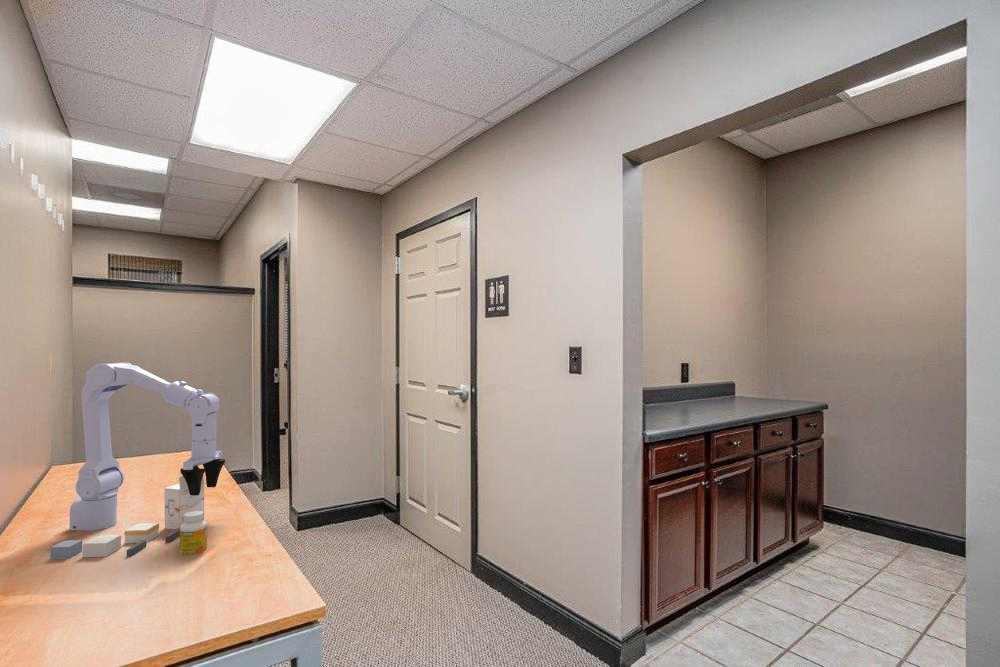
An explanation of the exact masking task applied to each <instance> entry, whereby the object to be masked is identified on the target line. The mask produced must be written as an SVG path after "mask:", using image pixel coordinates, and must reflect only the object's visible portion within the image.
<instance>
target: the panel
mask: <svg viewBox="0 0 1000 667" xmlns="http://www.w3.org/2000/svg"><path fill="white" fill-rule="evenodd" d="M177 538H180V528H178V529H173V531H171V532H170V533H169V534H166V535H165V536H164V538H162V539H161V537H158V540H159V541H160V542H161V541H165V544H169V543H171V542H173V541H174V540H176V539H177ZM146 548H147V543H146V540H142V541H140V542H139V543H134V544H133V545H132V546H130V547H129V548H127V549H126V550H124V553H125V554H126V558H127V557H133V556H134V555H136V554H138V553H139V552H141V551H142V550H144V549H146Z"/></svg>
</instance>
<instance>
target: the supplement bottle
mask: <svg viewBox="0 0 1000 667" xmlns="http://www.w3.org/2000/svg"><path fill="white" fill-rule="evenodd" d="M203 518H204V519H205V511H204V512H203V511H191V512H188V513H185V514H184V522H185V523H183V524H182V525H181V527H180V536H179V554H180V555H183V556H184V555H187V556H188V555H189V556H190V555H196V554H200V553H202V552H205V551H206V550H207V548H208V547H207V546H208V542H207V540H208V539H207V538H208V523H207V521H206V520H204V519H203ZM202 519H203V520H202Z"/></svg>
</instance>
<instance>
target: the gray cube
mask: <svg viewBox="0 0 1000 667" xmlns="http://www.w3.org/2000/svg"><path fill="white" fill-rule="evenodd" d="M49 549H50V550H49V559H50V560H67V559H68V560H69V559H71V558H73V557H75V556H77V555H80V553H83V539H77V540H76V539H75V540H71V539H70V540H63V541H60V542H58V543H57V544H54V545H52V546H50V548H49Z"/></svg>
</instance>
